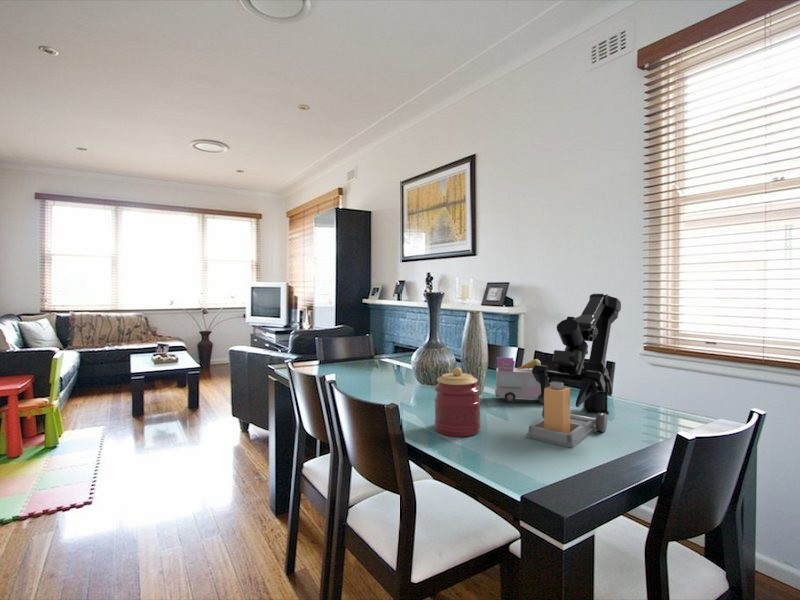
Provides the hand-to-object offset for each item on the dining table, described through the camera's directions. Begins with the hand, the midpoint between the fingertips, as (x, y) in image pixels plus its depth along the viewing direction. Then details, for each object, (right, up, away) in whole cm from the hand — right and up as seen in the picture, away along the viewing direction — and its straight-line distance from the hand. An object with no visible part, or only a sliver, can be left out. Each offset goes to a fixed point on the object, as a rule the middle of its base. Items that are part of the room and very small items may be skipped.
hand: (559, 403), depth 115 cm
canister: (-27, -9, +6) cm, 29 cm away
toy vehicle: (+1, -8, +36) cm, 37 cm away
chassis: (+3, -9, +3) cm, 10 cm away
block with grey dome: (-1, -8, -1) cm, 8 cm away
